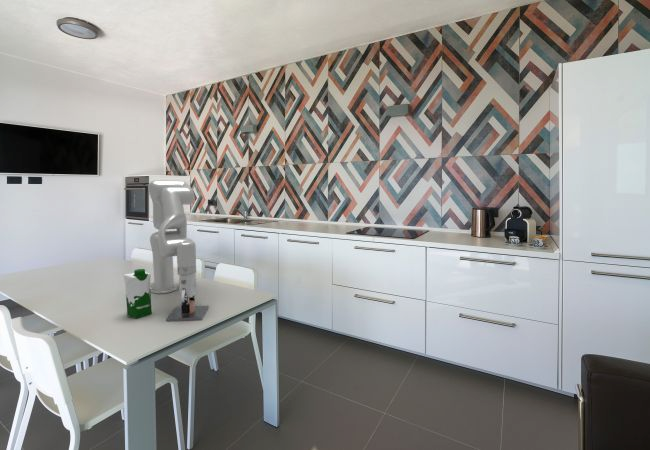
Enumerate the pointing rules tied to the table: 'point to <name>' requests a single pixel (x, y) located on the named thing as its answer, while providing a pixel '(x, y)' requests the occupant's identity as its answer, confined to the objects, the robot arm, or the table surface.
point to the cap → (191, 306)
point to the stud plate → (196, 315)
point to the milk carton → (138, 293)
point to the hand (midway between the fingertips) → (188, 309)
